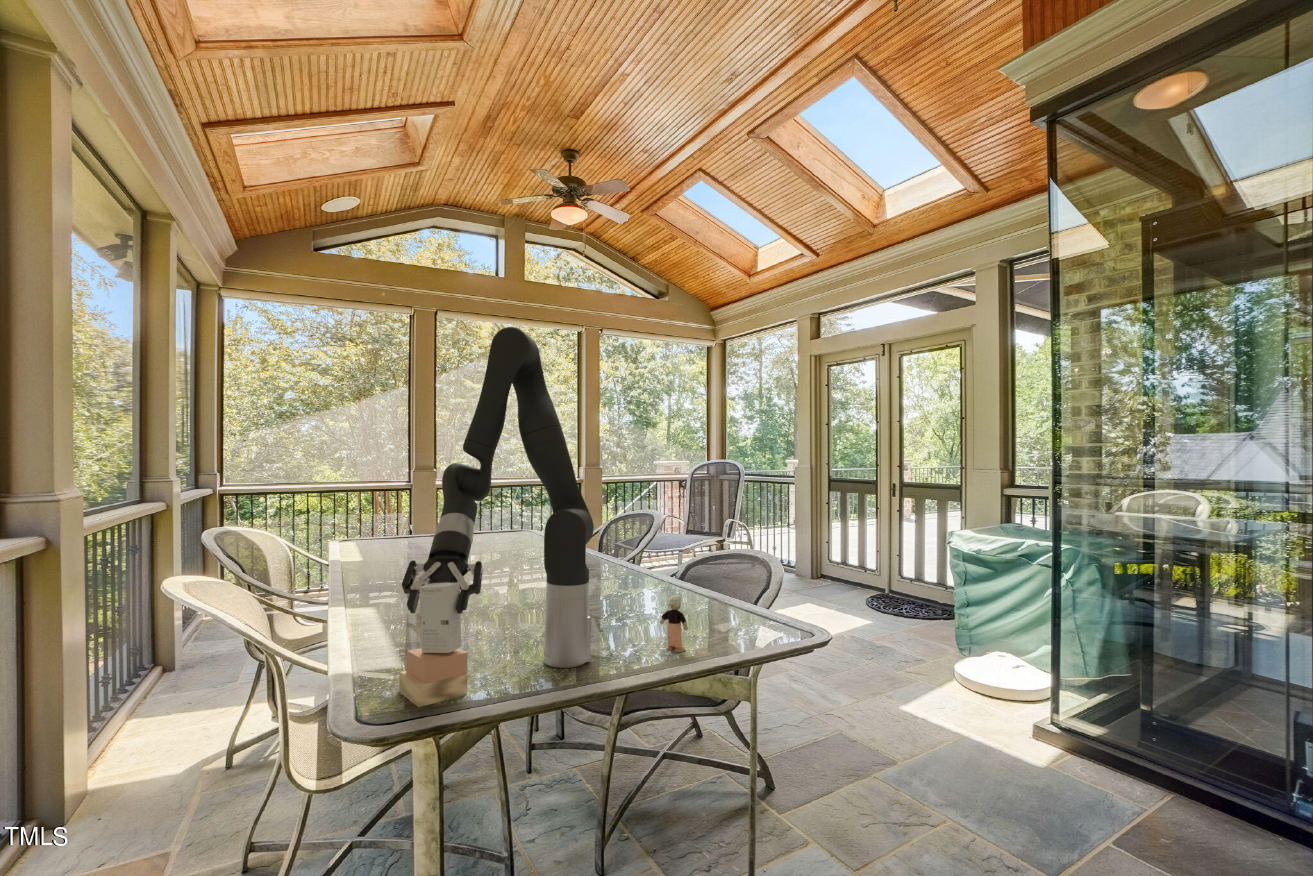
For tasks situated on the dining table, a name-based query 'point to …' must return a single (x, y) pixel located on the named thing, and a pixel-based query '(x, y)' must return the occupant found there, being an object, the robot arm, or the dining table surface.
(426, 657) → the tower top
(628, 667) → the dining table surface
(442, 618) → the skincare box
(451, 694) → the tower base
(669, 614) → the grandmother figurine
